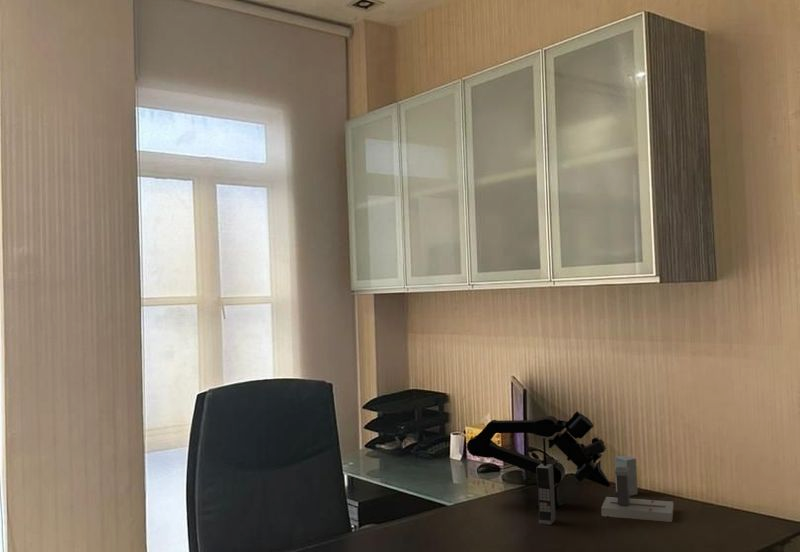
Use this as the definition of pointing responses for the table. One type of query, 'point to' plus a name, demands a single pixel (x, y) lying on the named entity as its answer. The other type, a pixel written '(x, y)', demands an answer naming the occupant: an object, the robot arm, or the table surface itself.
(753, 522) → the table surface
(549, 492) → the vintage mobile phone
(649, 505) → the block
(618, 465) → the skincare box
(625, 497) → the fader tab
